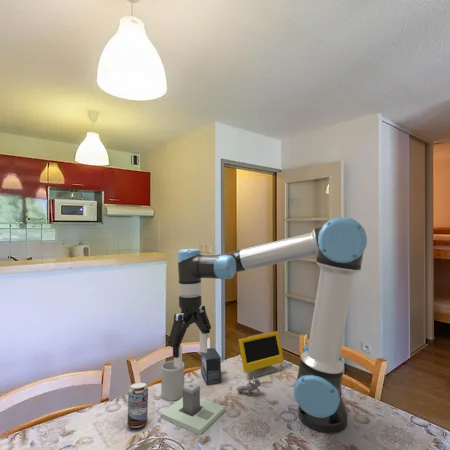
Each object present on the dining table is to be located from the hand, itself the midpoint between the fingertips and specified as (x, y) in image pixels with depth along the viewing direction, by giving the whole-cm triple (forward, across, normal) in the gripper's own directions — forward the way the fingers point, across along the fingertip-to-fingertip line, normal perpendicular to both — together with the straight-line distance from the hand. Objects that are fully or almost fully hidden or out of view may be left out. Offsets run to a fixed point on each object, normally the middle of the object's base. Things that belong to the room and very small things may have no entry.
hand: (191, 359), depth 101 cm
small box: (+18, -23, -9) cm, 30 cm away
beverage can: (+18, +13, -12) cm, 25 cm away
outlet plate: (+18, 0, 0) cm, 18 cm away
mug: (+18, -7, -15) cm, 24 cm away
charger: (+18, 0, 0) cm, 18 cm away
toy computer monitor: (+18, -39, +6) cm, 44 cm away
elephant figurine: (+18, -20, +11) cm, 29 cm away
